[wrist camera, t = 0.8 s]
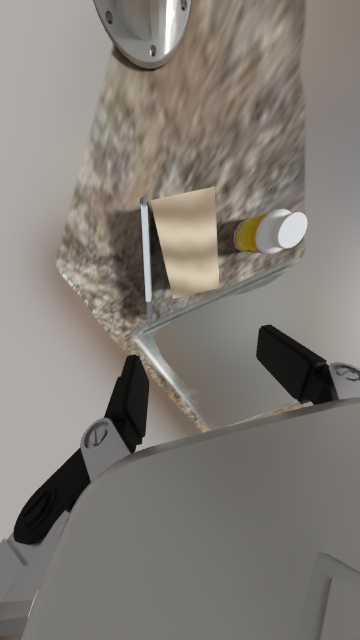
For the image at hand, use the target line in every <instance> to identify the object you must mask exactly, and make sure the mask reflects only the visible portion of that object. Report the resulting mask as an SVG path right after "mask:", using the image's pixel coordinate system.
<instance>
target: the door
mask: <svg viewBox="0 0 360 640" xmlns="http://www.w3.org/2000/svg"><path fill="white" fill-rule="evenodd" d="M140 203H141V217H142V236H143V255H144V275H145V294H146V304H147V324H148V326H151V323H152V272H151V236H150V208H149V204H148V200H147V198H146V197H141V199H140Z"/></svg>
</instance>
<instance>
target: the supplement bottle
mask: <svg viewBox="0 0 360 640" xmlns="http://www.w3.org/2000/svg"><path fill="white" fill-rule="evenodd" d="M306 229H307V218H306V216H305V215H304V214H303V213H301V212H295V213H291V212H290V211H288V210H286V209H278V210H275V211H271V212H268V213H265V214H261V215H258V216H254V217H251V218H248V219H245V220H243V221H242V222H241V223H240V224H239V225H238V226H237V228H236V230H235V232H234V236H233V241H234V245H235V247H236V248H237V249H238V250H239V251H242V252H252V253H266V254H271V253H275V252H278V251H280V250H281V249H283V248H291V247H293V246H295V245H296V244H297V243H298V242H299V241H300V240H301V239H302V237H303V236H304V234H305V232H306Z"/></svg>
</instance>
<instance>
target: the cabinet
mask: <svg viewBox="0 0 360 640" xmlns="http://www.w3.org/2000/svg"><path fill="white" fill-rule="evenodd" d="M150 201H151V206H152V212H153V216H154V220H155V225H156V229H157V233H158V237H159V242H160V246H161V250H162V255H163V259H164V263H165V268H166V272H167V276H168V280H169V285H170V289H171V293H172V296H173V299H174V298H178V297H183V296H187V295H191V294H195V293H200V292H204V291H208V290H213V289H217V288H219V269H218V249H217V228H216V208H215V187H211V188H206V189H201V190H197V191H192V192H188V193H183V194H178V195H174V196H169V197H164V198H160V199H155V200H150Z"/></svg>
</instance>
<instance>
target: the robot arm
mask: <svg viewBox="0 0 360 640" xmlns="http://www.w3.org/2000/svg"><path fill="white" fill-rule="evenodd" d="M93 1H94V4H95V7H96V10H97V13H98V15H99V17H100V20H101V22H102V24H103V26H104V28H105V30H106V32H107V34H108V35H109V37H110V38H111V40H112V42H113V43H114V45H115V46H116V47H117V48H118V50H119V51H120V52H121V53H122V55H124V56H125V57H126V58H127V59H128V60H129V61H130V62H132V63H134V64H136V65H137V66H139V67H142V68H147V69H153V68H158V67H160V66H162V65H164V64H166V63H167V62H168V61H169V60H170V59H171V58H172V57H173V56H174V54H175V53H176V51H177V50H178V48H179V46H180V44H181V41H182V39H183V37H184V33H185V30H186V26H187V23H188V17H189V11H190V4H191V0H93ZM153 56H154V57H153ZM256 357H257V359H258V360H259V361H260V362H261V363H262V365H264V367H265V368H266V369H267V370H268V371H269V372H270V373H271V374H272V375H273V376H274V377H275V379H276V380H277V381H278V382H279V383H280V384H281V385H282V386H283V387H284V388H285V390H287V392H288V393H289V394H290V395H291V396H292V397H293V398H295V399H297V400H298V401H299V402H300V403H301V404H304V403H307V402H310V401H311V402H312V403H313V404H314V405H313V406H309V407H304V408H300V409H296V410H292V411H288V412H284V413H280V414H276V415H272V416H268V417H264V418H260V419H256V420H252V421H248V422H244V423H240V424H236V425H232V426H228V427H224V428H220V429H216V430H212V431H208V432H204V433H201V434H197V435H193V436H189V437H186V438H181V439H178V440H174V441H170V442H167V443H163V444H160V445H156V446H152V447H149V448H146V449H143V450H140V451H138V452H135V450H136V445H140V444H142V437H144V436H145V431H146V419H147V407H148V394H149V380H148V377H147V375H146V372H145V370H144V367H143V365H142V362H141V360H140V357H139V356H136V355H130V356H127V358H126V362H125V365H124V368H123V371H122V374H121V377H118V379H117V381H116V384H115V387H114V390H113V393H112V395H111V398H110V402H109V404H108V407H107V410H106V413H105V416H104V418H101V419H99V420H97V421H95V422H94V423H93V424H92V425H91V426H90V427H89V428H88V429H87V430H86V432H85V433H84V435H83V437H82V439H81V444H80V448H79V449H78V450H77V451H76V452H75V453H74V455H72V456H71V457H70V458H69V459H68V460H67V461H66V462H65V463H64V464H63V465H62V466H61V467H60V468H59V469H58V470H57V471H56V472H55V473H54V474H53V475H52V476H51V477H50V478H49V479H48V480H47V481H46V482H45V483H44V484H43V485H42V486H41V487H40V488H39V489H38V490H37V491H36V492H35V493H34V494H33V495H32V496H31V498H30V499H29V500H28V502H27V503H26V505H25V506H24V507H23V509H22V511H21V513H20V514H19V517H18V519H17V521H16V524H15V527H14V531H13V533H12V534H11V535H10V537H9V538H8V539H3V540H2V542H1V543H0V640H360V369H359V368H357V367H354V366H352V365H348V364H345V363H332V364H330V365H327V364H326V360H325V359H323V358H322V357H320V356H318V355H317V354H315V353H314V352H312V351H311V350H309V349H308V348H306V347H304V346H303V345H301V344H300V343H298V342H296V341H295V340H294V339H292V338H290V337H289V336H287V335H286V334H284V333H282V332H281V331H279V330H278V329H276V328H275V327H273V326H272V325H265V326H262V327H261V328H260V329H259V334H258V345H257V353H256ZM134 452H135V453H134ZM38 589H39V590H38ZM37 591H38V593H37ZM36 593H37V596H36V598H35V601H34V604H33V607H32V609H31V612H30V615H29V618H28V614H29V611H30V608H31V605H32V602H33V599H34V597H35V595H36ZM27 619H28V620H27Z"/></svg>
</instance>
